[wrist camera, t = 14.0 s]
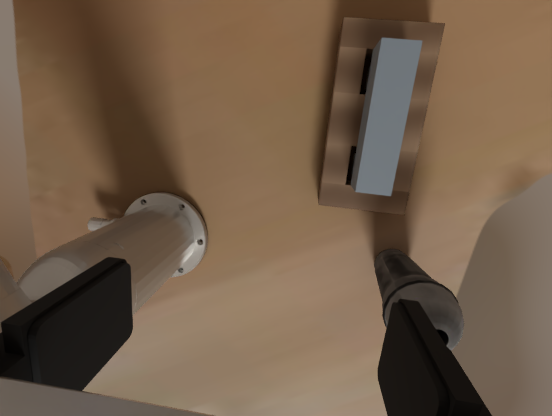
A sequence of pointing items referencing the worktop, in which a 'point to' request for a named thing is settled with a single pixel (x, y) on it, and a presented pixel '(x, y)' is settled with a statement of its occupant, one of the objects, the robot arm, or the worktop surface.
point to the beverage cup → (418, 294)
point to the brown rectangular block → (349, 106)
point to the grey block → (384, 114)
